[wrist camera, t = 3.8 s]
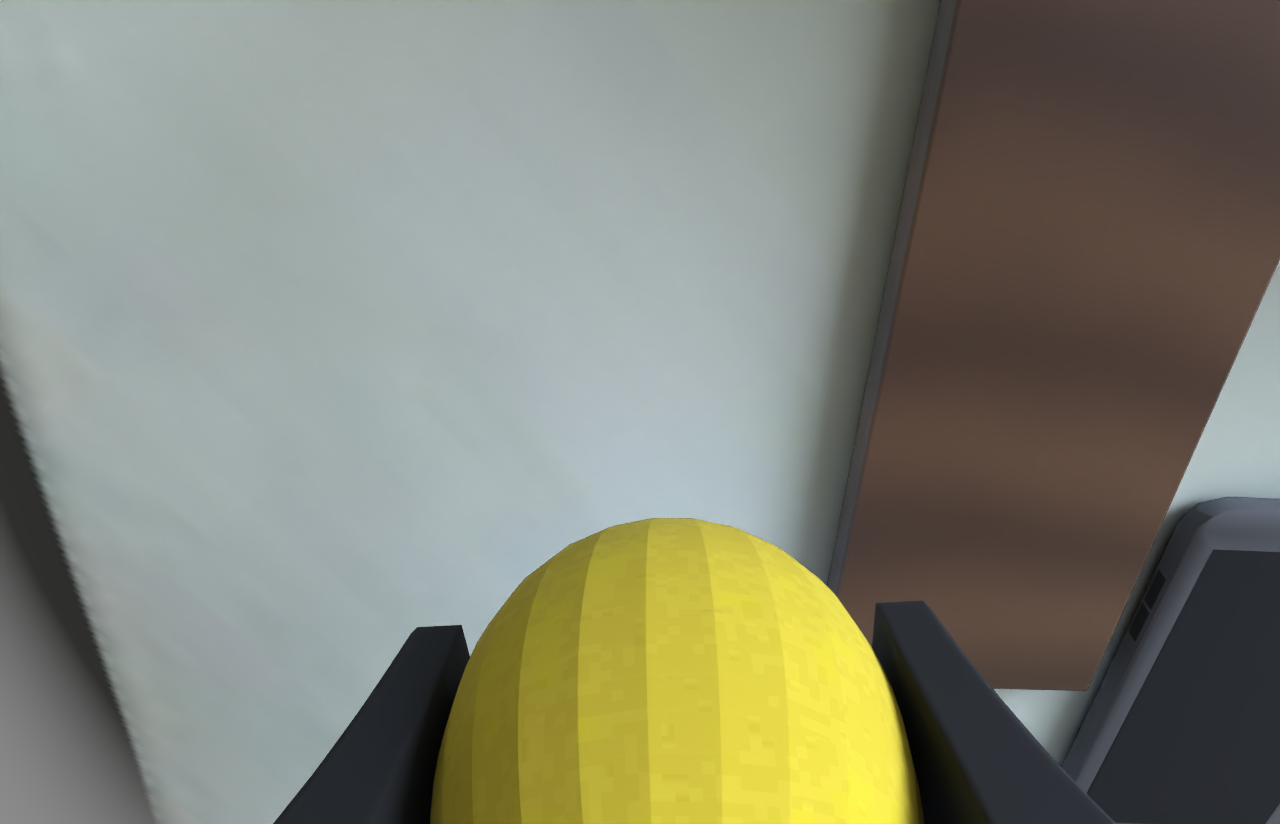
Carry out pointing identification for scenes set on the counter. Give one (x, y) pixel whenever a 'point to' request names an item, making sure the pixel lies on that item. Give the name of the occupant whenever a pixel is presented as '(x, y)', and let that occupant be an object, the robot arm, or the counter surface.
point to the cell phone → (1195, 681)
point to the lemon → (674, 694)
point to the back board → (1059, 315)
